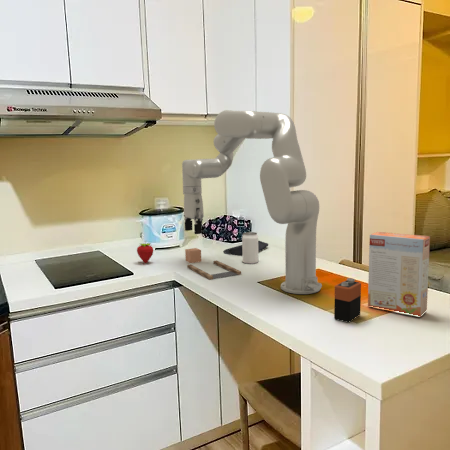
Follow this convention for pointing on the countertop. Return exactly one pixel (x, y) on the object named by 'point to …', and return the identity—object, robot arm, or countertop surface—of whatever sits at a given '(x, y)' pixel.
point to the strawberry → (145, 252)
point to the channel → (219, 275)
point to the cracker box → (398, 272)
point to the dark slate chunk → (238, 249)
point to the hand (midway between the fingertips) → (193, 232)
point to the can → (250, 247)
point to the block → (193, 255)
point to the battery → (347, 300)
